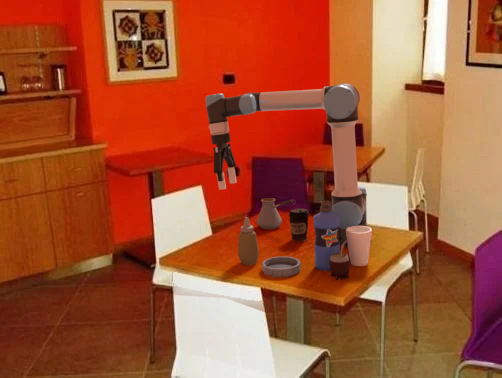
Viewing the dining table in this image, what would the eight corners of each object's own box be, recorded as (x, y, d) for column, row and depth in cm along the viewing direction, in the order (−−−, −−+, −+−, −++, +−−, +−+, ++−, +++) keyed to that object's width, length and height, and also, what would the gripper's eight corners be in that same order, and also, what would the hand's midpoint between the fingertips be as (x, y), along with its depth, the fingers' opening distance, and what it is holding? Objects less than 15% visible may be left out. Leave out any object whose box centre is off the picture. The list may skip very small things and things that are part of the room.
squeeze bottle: (252, 268, 224) (249, 221, 220) (234, 264, 229) (231, 219, 225) (263, 261, 231) (261, 215, 227) (245, 258, 235) (243, 213, 231)
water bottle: (344, 268, 219) (343, 201, 213) (320, 272, 216) (318, 204, 211) (334, 260, 227) (332, 196, 222) (311, 264, 225) (308, 199, 219)
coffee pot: (251, 228, 275) (249, 196, 272) (268, 222, 283) (267, 191, 280) (286, 236, 260) (285, 202, 257) (303, 229, 268) (302, 197, 265)
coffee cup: (308, 243, 249) (307, 212, 246) (288, 243, 251) (287, 212, 248) (310, 236, 258) (309, 207, 255) (291, 236, 259) (290, 207, 256)
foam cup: (343, 266, 221) (342, 232, 218) (349, 257, 230) (348, 225, 227) (369, 268, 218) (369, 233, 215) (374, 259, 226) (374, 226, 223)
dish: (303, 264, 225) (303, 257, 224) (296, 277, 212) (296, 270, 212) (267, 263, 229) (267, 255, 228) (258, 276, 216) (258, 268, 215)
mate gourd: (333, 272, 216) (332, 232, 213) (354, 275, 212) (354, 234, 209) (326, 279, 210) (325, 238, 206) (348, 282, 206) (347, 240, 203)
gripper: (221, 131, 252) (229, 181, 255) (199, 137, 228) (208, 192, 231) (238, 129, 249) (245, 179, 252) (218, 135, 226) (227, 190, 229)
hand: (228, 186), depth 242 cm, fingers open, 13 cm apart
